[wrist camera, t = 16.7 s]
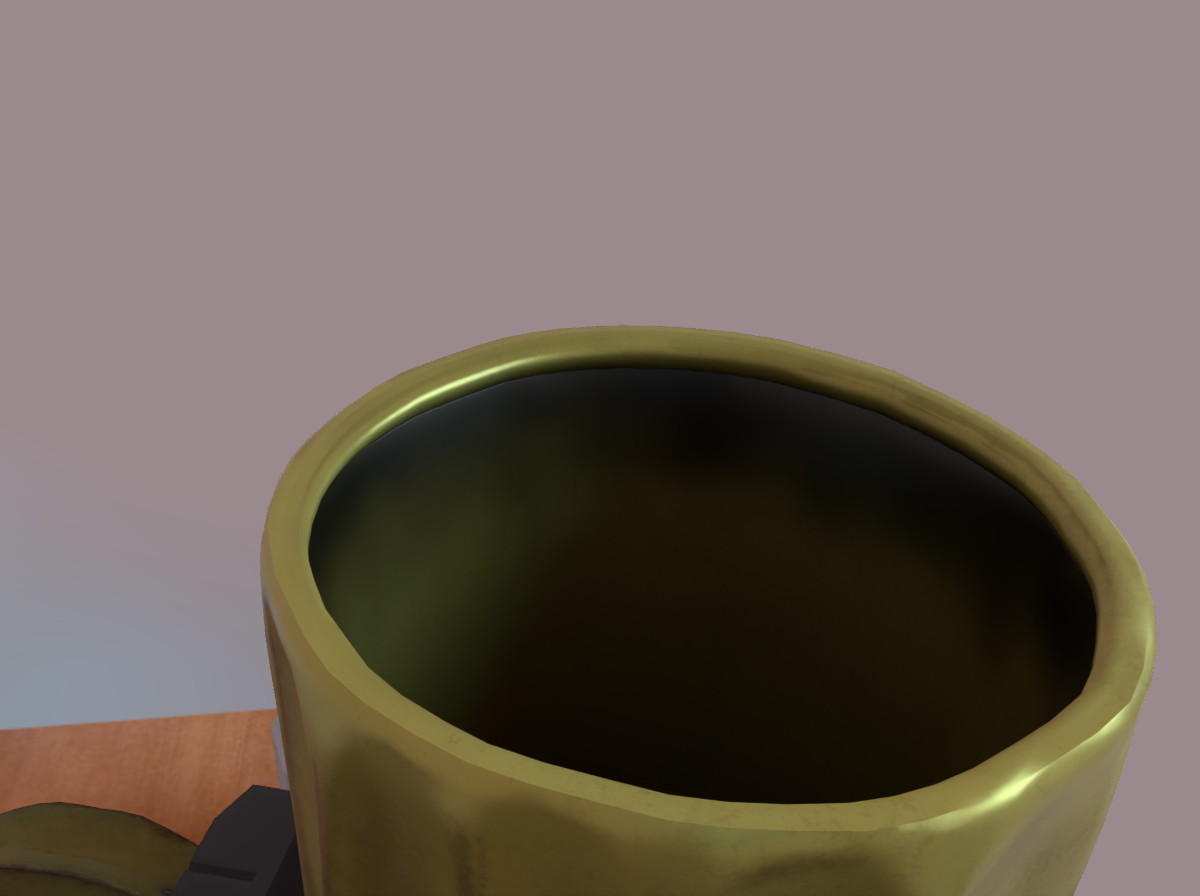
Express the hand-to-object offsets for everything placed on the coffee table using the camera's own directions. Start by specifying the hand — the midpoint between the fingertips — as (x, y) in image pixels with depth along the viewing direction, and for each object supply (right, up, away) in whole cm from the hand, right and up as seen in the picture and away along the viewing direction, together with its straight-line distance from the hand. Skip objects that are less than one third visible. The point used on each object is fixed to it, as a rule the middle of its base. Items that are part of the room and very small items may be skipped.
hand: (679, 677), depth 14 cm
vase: (-1, -10, 0) cm, 10 cm away
